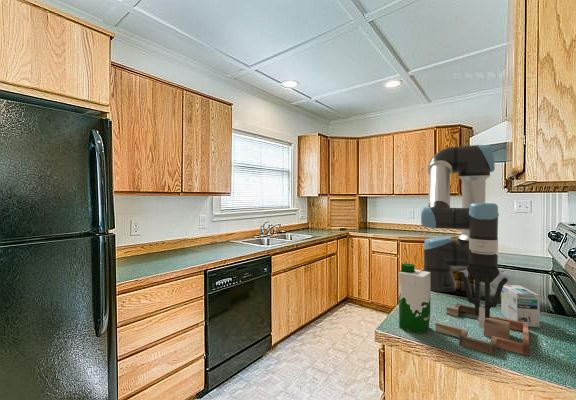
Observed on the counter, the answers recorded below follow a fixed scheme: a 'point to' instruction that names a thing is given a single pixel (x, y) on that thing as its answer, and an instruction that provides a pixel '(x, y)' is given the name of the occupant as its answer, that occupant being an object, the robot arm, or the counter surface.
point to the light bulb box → (520, 305)
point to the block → (496, 328)
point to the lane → (501, 343)
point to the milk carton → (414, 298)
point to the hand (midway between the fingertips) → (482, 326)
